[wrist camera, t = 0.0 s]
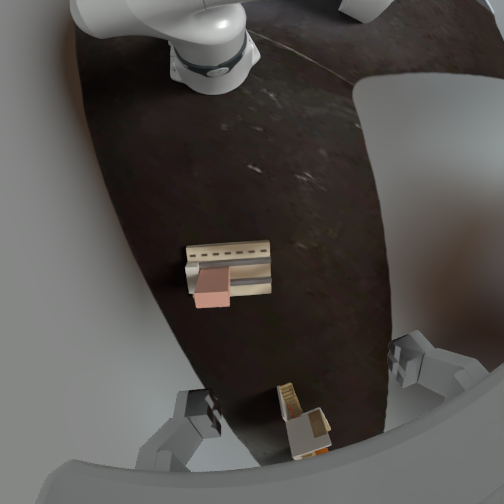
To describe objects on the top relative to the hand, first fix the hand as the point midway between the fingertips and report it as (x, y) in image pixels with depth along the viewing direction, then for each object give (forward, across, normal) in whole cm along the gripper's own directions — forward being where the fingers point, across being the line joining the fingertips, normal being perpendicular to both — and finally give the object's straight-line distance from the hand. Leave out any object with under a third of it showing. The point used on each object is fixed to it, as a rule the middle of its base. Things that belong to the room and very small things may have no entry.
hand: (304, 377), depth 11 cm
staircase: (+49, -2, +59) cm, 77 cm away
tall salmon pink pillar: (+46, +10, +13) cm, 49 cm away
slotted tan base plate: (+48, +8, +13) cm, 50 cm away
